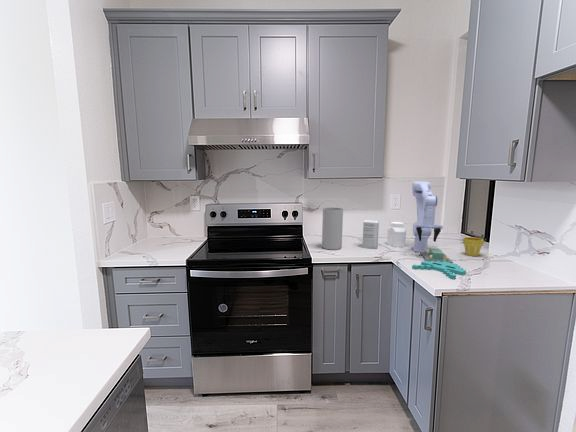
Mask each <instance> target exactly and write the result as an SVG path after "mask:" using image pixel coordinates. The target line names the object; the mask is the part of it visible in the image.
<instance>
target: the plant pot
mask: <svg viewBox="0 0 576 432" xmlns="http://www.w3.org/2000/svg"><path fill="white" fill-rule="evenodd" d="M462 244H463V247H464V253H465V256H469V257H470V256H471V257H479V256H480V253H481V249H482V246H484V239H483V238H480V237H474V236H473V237H472V236H464V237H463V238H462Z"/></svg>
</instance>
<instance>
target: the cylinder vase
mask: <svg viewBox="0 0 576 432" xmlns="http://www.w3.org/2000/svg"><path fill="white" fill-rule="evenodd" d="M343 220H344V208H342V207H323V208H322V228H321V229H322V234H321V247H322V248H323V249H325V250H330V251H334V250H341V249H342V248H343V246H342V245H343V226H344V225H343V223H344V221H343Z"/></svg>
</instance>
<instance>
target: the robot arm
mask: <svg viewBox="0 0 576 432" xmlns="http://www.w3.org/2000/svg"><path fill="white" fill-rule="evenodd" d="M431 187H432V184H431V182H430V181H413V183H412V187H411V188H412V189H411V190H412V196H414V197H415V201H416V218H417V219H416V220H417V221H415V222H414V223H413V224H412V235H413V236H414V241H413V247H412V250H413V251H414V253H415V252H416V253H420V252H424V249H427V251H426V252H429V249H428V241H429V237H431V236H432V233H433V242H435V243H436V241H437V239H438V236H439V235H440V233H441V231H442V230H443V228H444V226H443V225H442V224H441V225H440V224H435V218H436V207H437V206H438V196H437V195H434V194H433V191H432V190H431ZM432 230H433V232H432Z"/></svg>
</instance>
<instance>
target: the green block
mask: <svg viewBox="0 0 576 432" xmlns="http://www.w3.org/2000/svg"><path fill="white" fill-rule="evenodd" d="M440 250H441V249H439V248H437V247H435V248H434V247H432V248H431V247H430V248H428V252H429V255H432V258H433V259H439V260H443V255H444V254H445V253H444V252H443V251H440Z"/></svg>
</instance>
